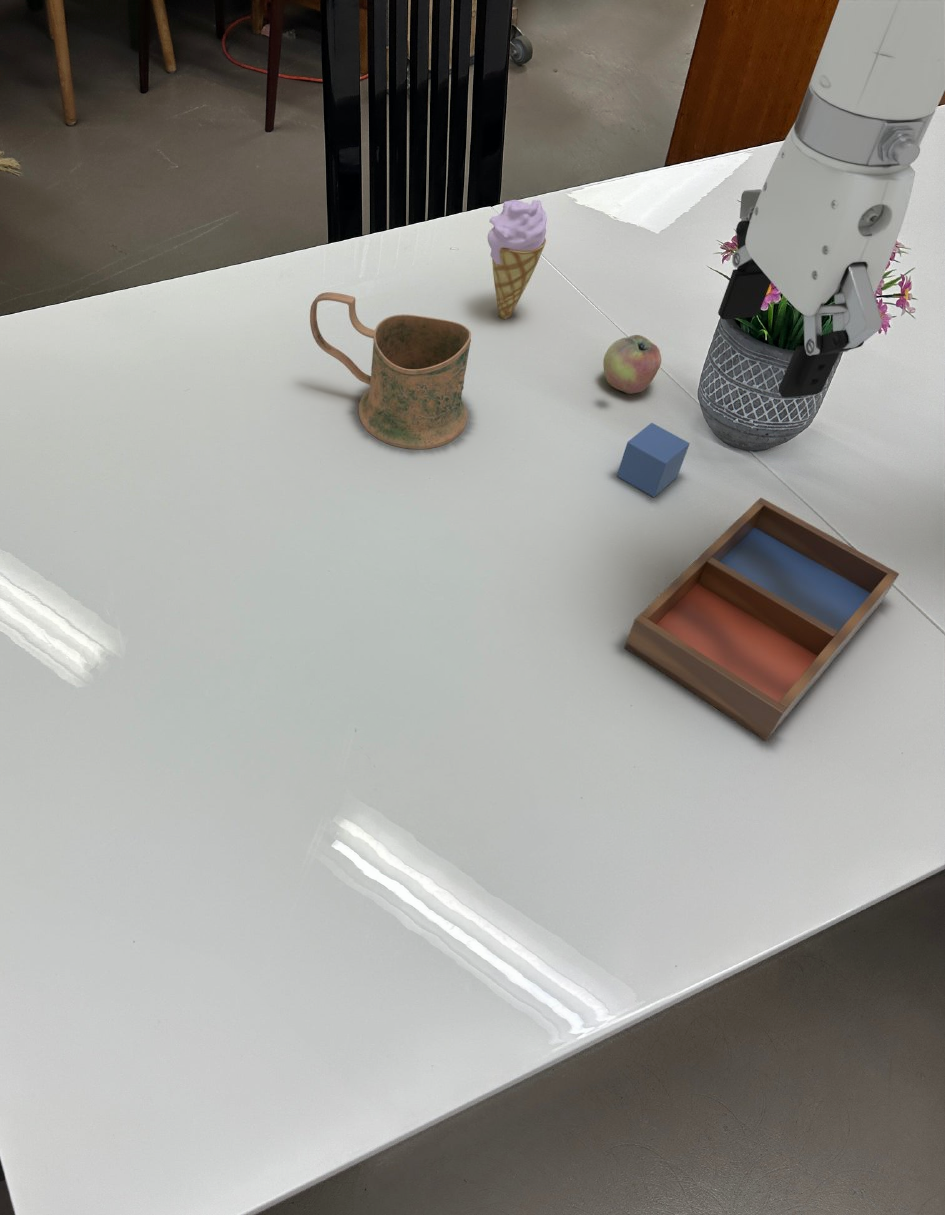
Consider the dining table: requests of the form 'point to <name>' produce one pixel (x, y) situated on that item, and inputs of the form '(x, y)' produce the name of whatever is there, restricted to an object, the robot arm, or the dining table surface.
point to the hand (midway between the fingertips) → (766, 353)
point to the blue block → (652, 459)
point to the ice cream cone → (515, 250)
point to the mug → (408, 376)
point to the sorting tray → (760, 615)
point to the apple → (631, 363)
